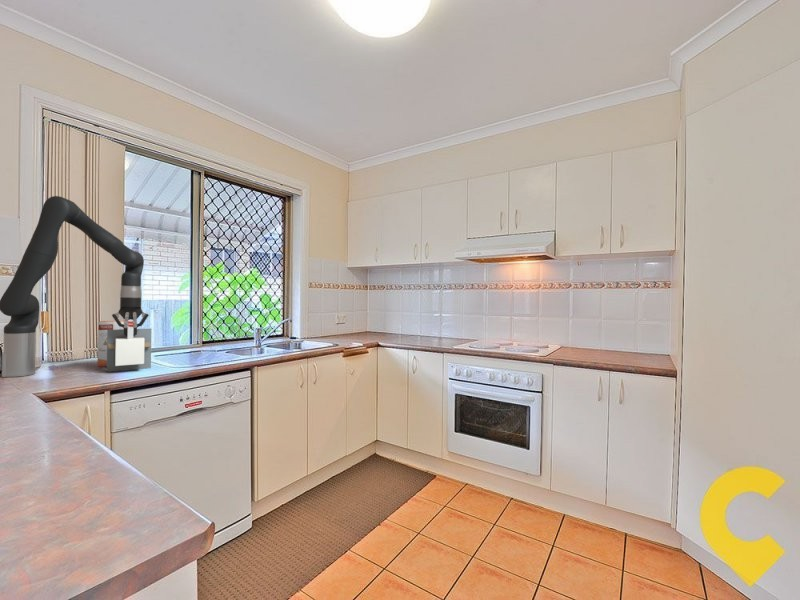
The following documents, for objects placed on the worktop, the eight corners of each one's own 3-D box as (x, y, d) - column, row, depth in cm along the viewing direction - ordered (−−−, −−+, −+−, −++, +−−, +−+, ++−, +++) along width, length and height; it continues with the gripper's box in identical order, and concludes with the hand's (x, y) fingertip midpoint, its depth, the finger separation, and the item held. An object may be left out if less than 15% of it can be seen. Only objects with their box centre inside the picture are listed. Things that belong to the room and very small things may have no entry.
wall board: (106, 372, 162) (107, 330, 162) (106, 369, 168) (107, 329, 168) (151, 368, 172) (151, 329, 172) (149, 366, 178) (150, 327, 178)
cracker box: (97, 367, 172) (97, 321, 172) (99, 365, 178) (100, 320, 177) (134, 365, 180) (135, 321, 179) (135, 363, 185) (136, 320, 185)
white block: (115, 365, 159) (116, 327, 159) (115, 363, 165) (115, 326, 165) (144, 363, 166) (144, 327, 166) (142, 361, 171) (143, 326, 171)
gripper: (111, 296, 157) (110, 338, 157) (150, 297, 166) (150, 336, 166) (110, 296, 163) (110, 336, 163) (149, 296, 172) (148, 334, 172)
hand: (130, 336), depth 165 cm, fingers closed on white block
